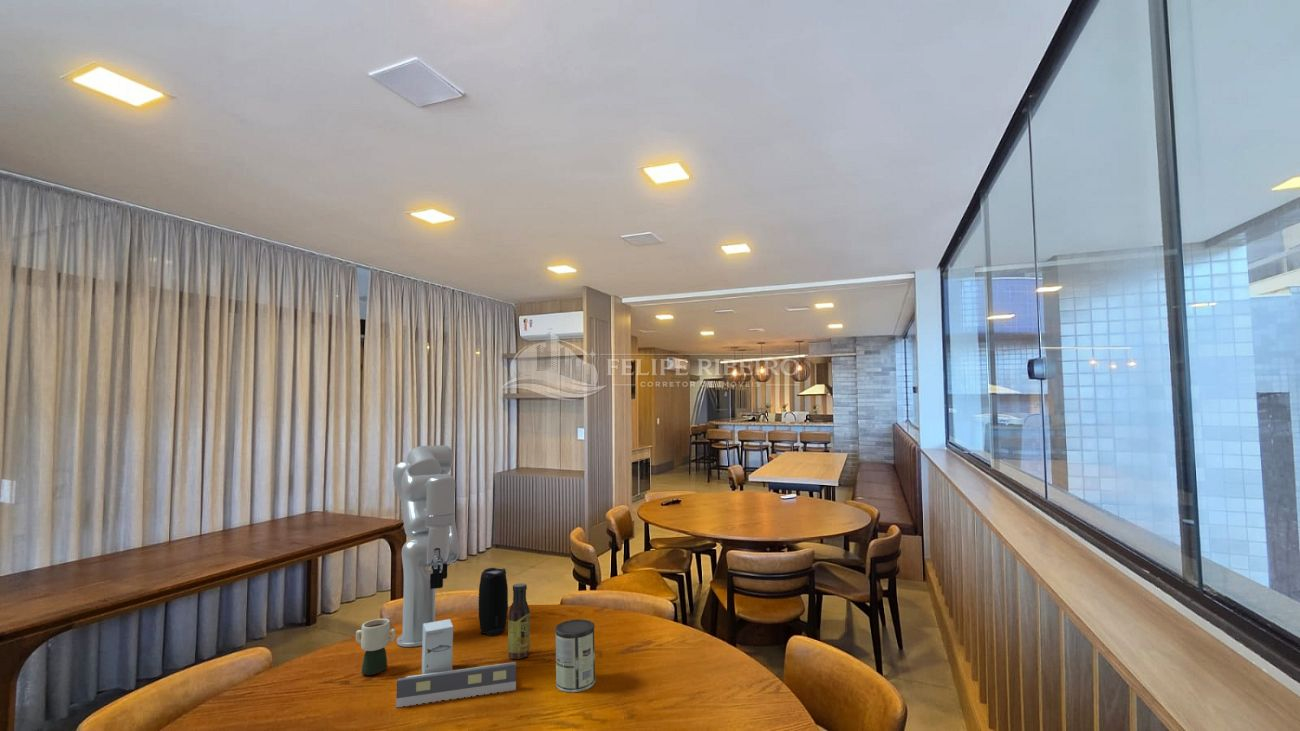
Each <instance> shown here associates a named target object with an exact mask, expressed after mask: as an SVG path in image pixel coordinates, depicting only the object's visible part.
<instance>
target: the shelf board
mask: <svg viewBox="0 0 1300 731" xmlns="http://www.w3.org/2000/svg"><path fill="white" fill-rule="evenodd" d="M510 663H516V664H517V662H516V661H512V662H505V663H497V664H491V665H483V666H482V665H481V666H476V667H466V668H460V669H452V671H458V670H466V669H473V668H480V667H488V666H495V665H502V664H510ZM444 672H451V671H444ZM437 673H443V672H437ZM430 674H436V673H430ZM421 675H429V674H422V673H421V674H418V675H417V674H416V675H408V676H405V678H407V677H414V676H421ZM516 690H517V680H516V681H514V682H507V683H500V684H493V685H487V686H480V687H473V688H466V689H459V690H452V691H445V692H438V693H431V694H424V695H417V696H410V697H403V698H395V708H396V709H397V707H398V708H403V706H405V707H409V706H410V705H411V706H417V705H416V704H418V705H423V704H422V703H425V704H430V703H429V702H432V703H437V702H436V701H438V702H442V701H441V700H445V701H450V700H449V699H452V700H456V699H457V698H459V699H464V697H465V698H470V697H471V696H472V697H477V696H476V695H479V696H485V695H491V694H490V693H492V694H497V692H499V693H504V692H505V691H506V692H511V691H516ZM484 694H485V695H484Z"/></svg>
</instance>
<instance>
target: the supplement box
mask: <svg viewBox="0 0 1300 731" xmlns="http://www.w3.org/2000/svg"><path fill="white" fill-rule="evenodd" d="M453 641H454V625H453V623H452V620H451V618H449V619H443V620H437V621H436V620H435V622H430V623H424V624H423V638H422V645H421V675H422V674H430V673H437V672H444V671H452V670H453V656H454V654H453V651H454V650H453V647H454V645H453V644H454V642H453Z"/></svg>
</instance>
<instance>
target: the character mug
mask: <svg viewBox="0 0 1300 731" xmlns="http://www.w3.org/2000/svg"><path fill="white" fill-rule="evenodd" d="M360 635H361V637H360ZM395 641H396V629H395V628H391V621H390V619H388V618H378V619H377V618H376V619H371V620H368V621H365V622H363V623H362V624H361V629H358V630H356V632H355V642H356V643H360V647H361V650H362V651H364V652H365V653H364V654H363V660H362V666H361V673H362V674H363V675H366V676H371V675H376V674H378V673H380V672H382V671H384V670H386V669H387V668H388V658H387V652H386V651H387V650H386V649H385V648H386V647H387V646H388V645H389V643H390V642H395Z"/></svg>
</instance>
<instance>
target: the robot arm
mask: <svg viewBox="0 0 1300 731" xmlns="http://www.w3.org/2000/svg"><path fill="white" fill-rule="evenodd" d="M453 465H454V452H453V449H452V448H451V447H449V446H448V445H443V444H442V445H438V444H437V445H420V446H416V447H413V448H412V449H411V450H410V451H409V452H408V454H407V457H406V460H405V461H400V462H397V463H396V464H395V465H394V467H393V470H392V481H393V487H394V489H395V492H396V493H397V496H398V498H399V501H400V503H401V507H402V519H403V520H402V521H403V529H404V533H405V535H406V536H407V537H408V538H410V539H409V540H407V541H406V542H405V543H404V544H403V546H402V548H401V560H402V561H401V562H402V569H403V594H402V595H403V598H402V599H403V600H402V601H403V602H402V605H403V606H402V630H401V631H402V633H401V634H400V635H398V637H397V638H396V644H397V645H398V646H399V647H403V648H412V647H420V646H421V647H422V638H423V624H424V623H430V622H436V589H442V588H443V587H444V580H445V579H447V578H448V564H453V563H455V562H456V561H457V560H458V558H459V555H460V544H459V536H458V531H457V525H456V518H455V503H456V502H455V498H456V497H455V492H456V480H455V478H454V477H453V476H452V475H451V474H449V473H450V471H451V469H452V468H453ZM428 568H430V571H429V570H428Z"/></svg>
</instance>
